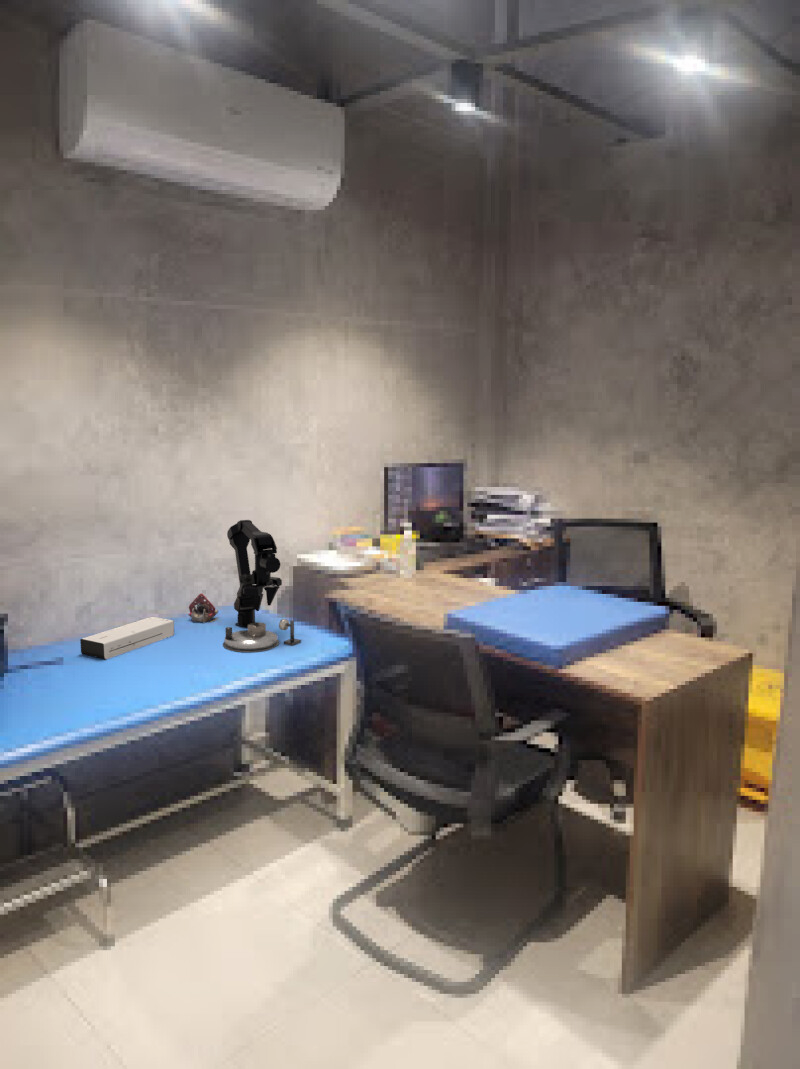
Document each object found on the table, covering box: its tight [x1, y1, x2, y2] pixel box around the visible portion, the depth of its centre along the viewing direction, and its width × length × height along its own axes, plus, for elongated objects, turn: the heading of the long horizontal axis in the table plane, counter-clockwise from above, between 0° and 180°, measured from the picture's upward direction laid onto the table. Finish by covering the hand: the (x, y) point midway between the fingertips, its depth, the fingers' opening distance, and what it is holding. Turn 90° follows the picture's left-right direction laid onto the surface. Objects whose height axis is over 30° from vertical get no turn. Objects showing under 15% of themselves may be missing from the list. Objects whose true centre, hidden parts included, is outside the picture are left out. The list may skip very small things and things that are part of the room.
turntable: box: [224, 626, 278, 651], centre depth 300 cm, size 19×19×6 cm
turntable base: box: [222, 638, 280, 654], centre depth 300 cm, size 20×20×1 cm
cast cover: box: [247, 621, 267, 637], centre depth 303 cm, size 7×7×4 cm
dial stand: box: [278, 618, 302, 647], centre depth 301 cm, size 6×5×9 cm
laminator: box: [79, 615, 175, 660], centre depth 297 cm, size 34×12×6 cm, turn 152°
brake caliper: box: [188, 593, 219, 624], centre depth 331 cm, size 11×11×12 cm
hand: (263, 608), depth 308 cm, fingers open, 8 cm apart
